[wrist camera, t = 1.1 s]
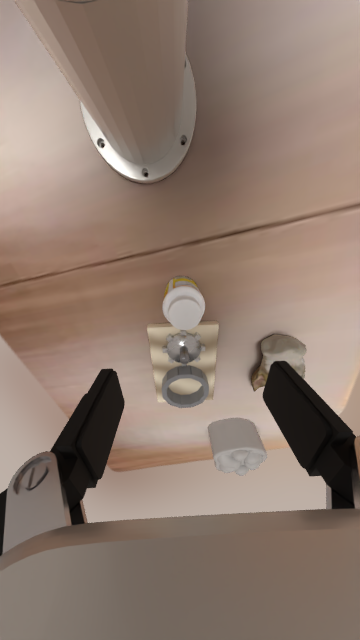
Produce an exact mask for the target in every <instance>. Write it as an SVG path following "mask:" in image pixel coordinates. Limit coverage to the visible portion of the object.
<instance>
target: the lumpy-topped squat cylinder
mask: <svg viewBox="0 0 360 640" xmlns="http://www.w3.org/2000/svg"><path fill="white" fill-rule="evenodd" d="M208 430H209V436H210V442H211V447H212V452H213V458H214V461H215V467H216V469H217V470H219V471H223V472H224V473H230V472H233V471H235V472H236V474H238V475H240V476H243V475H245V474H246V473H247V472H248V471H249V469H250V470H255V469H257V468H258V467H259V466H260V463H262V462H263V461H265V459H266V458H267V453H266V450H265V448H264V446H263V443H262V441H261V439H260V436H259V434H258V432H257V430H256V427H255V425H254V423H253V422H251V421H250V420H247V419H242V418H230V419H224V420H219V421H215V422H213V423H211V424H210V425H209V426H208Z"/></svg>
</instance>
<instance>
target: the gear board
mask: <svg viewBox="0 0 360 640" xmlns="http://www.w3.org/2000/svg"><path fill="white" fill-rule="evenodd" d="M218 329H219V324H218V322H217V321H203V322H199V324H198V325H197V326H196V327H194V328H192V329H189V330H186V333H191V334H193V335H194V334H195V333H196V332H197V333H199V334H200V336H201V338H200V339H199V342H200V344H205V351H201V352H200V354H199V356H200V359H201V360H199V361H198V362H196V361H194V360H193V361H191V362H189V363H187V365H190V366H194V367H196V368H199V369H201V370H202V371H203V373H204V374H205V375H206V377H207V380H208V384H209V395H208V397H207V398H206V399H205V400H213V393H214V380H215V367H216V354H217V341H218ZM147 332H148V338H149V345H150V352H151V359H152V366H153V373H154V380H155V387H156V394H157V400H158V402H166V401H165V400H164V399H163V397H162V380H163V378H164V376H165V374H166V373H167V371H169V370H171V369H173V368H175V367H177V366H182V363H178V362H175V361H174V362H173V363H172V364H171V363H170V362H168V357H169V356H168V354H167V353H163V350H162V347H163V346H164V345H167V343H168V341H167V340H166V336H167V335H168V334H169V333H170V334H172V335H175V334H178V333H180V329H177V328H175V327H174V326H173V325H172V324H171V323H159V324H148V326H147ZM201 386H202V384H201V383H200V382H199V381H196V380H194V379H191V378H184V379H178V380H176V381H174V382H172V383H171V384H170V385H169V389H170V390H171V391H172V392H174V393H177V394H180V395H187V394H192V393H194V392H196V391H198V389H199V388H200V387H201Z"/></svg>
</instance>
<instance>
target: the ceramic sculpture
mask: <svg viewBox="0 0 360 640" xmlns="http://www.w3.org/2000/svg"><path fill="white" fill-rule="evenodd" d="M261 350H262V353H263V359H262V362H261V366H260V367H258V369H257V370H256V371H255V372H254V373H253V375H252V378H251V384H252V386H253V390H254V391H256V390H257V389H258V388H259V387H263V386H265V384H266V381H267V377H268V373H269V370H270V366H271V364H273V362H274V361H286V362H288V363H289V364H290V366H291V367H292V368H293V369H294V370H295V371H296V372H297V373H298V374H299V375H300V376H301V377H302V378H303V379H304V378H305V364H304V359H303V356H304V355H305V353H306V345H305V344H303V343H302V342H300V341H299V340H298V339H296V338H294V337H290V336H286V335H272V336H270V337H268V338H266V339H264V340H263V341H262V342H261Z"/></svg>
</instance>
